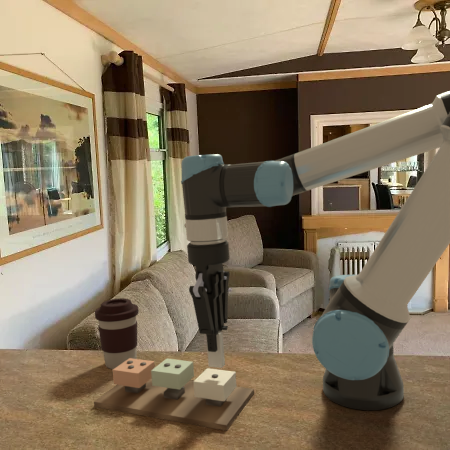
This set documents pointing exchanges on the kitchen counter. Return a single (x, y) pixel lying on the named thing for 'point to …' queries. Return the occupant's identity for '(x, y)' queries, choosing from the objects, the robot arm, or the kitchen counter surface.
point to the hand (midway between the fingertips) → (216, 365)
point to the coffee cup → (117, 330)
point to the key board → (176, 404)
